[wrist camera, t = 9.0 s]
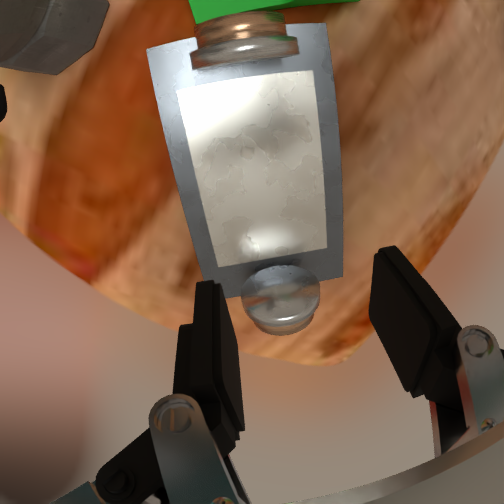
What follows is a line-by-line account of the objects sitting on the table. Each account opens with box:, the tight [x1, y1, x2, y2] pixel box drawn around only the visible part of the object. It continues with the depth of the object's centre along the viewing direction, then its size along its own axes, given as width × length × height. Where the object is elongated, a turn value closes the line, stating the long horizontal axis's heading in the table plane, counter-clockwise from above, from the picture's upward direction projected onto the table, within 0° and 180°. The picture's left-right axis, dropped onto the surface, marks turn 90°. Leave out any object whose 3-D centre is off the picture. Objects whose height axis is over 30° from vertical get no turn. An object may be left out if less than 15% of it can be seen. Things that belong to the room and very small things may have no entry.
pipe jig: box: [146, 11, 343, 336], centre depth 20 cm, size 21×12×8 cm, turn 9°
